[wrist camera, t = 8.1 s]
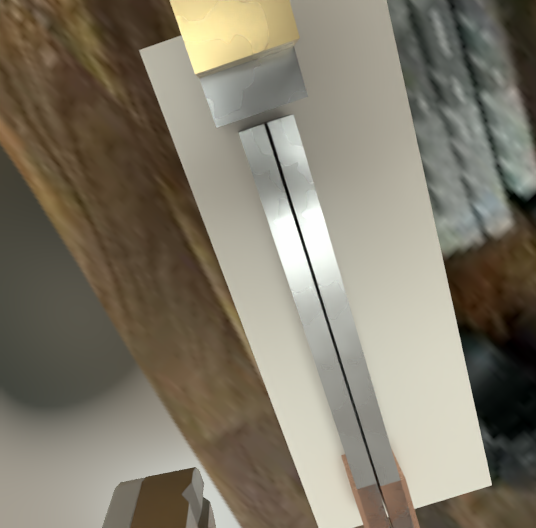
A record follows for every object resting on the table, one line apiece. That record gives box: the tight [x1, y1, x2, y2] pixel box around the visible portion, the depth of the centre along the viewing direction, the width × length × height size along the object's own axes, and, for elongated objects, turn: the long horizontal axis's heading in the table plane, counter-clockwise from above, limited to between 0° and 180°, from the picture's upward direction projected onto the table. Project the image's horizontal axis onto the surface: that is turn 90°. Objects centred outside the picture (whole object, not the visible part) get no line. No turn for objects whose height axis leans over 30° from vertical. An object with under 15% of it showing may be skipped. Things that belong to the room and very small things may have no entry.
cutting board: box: [139, 0, 492, 528], centre depth 27 cm, size 32×12×1 cm, turn 18°
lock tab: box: [170, 0, 300, 78], centre depth 17 cm, size 4×4×2 cm
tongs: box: [199, 46, 391, 528], centre depth 25 cm, size 30×4×4 cm, turn 18°
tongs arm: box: [264, 114, 420, 528], centre depth 26 cm, size 25×2×3 cm, turn 18°
